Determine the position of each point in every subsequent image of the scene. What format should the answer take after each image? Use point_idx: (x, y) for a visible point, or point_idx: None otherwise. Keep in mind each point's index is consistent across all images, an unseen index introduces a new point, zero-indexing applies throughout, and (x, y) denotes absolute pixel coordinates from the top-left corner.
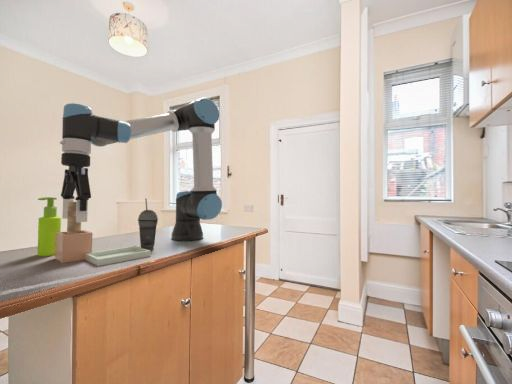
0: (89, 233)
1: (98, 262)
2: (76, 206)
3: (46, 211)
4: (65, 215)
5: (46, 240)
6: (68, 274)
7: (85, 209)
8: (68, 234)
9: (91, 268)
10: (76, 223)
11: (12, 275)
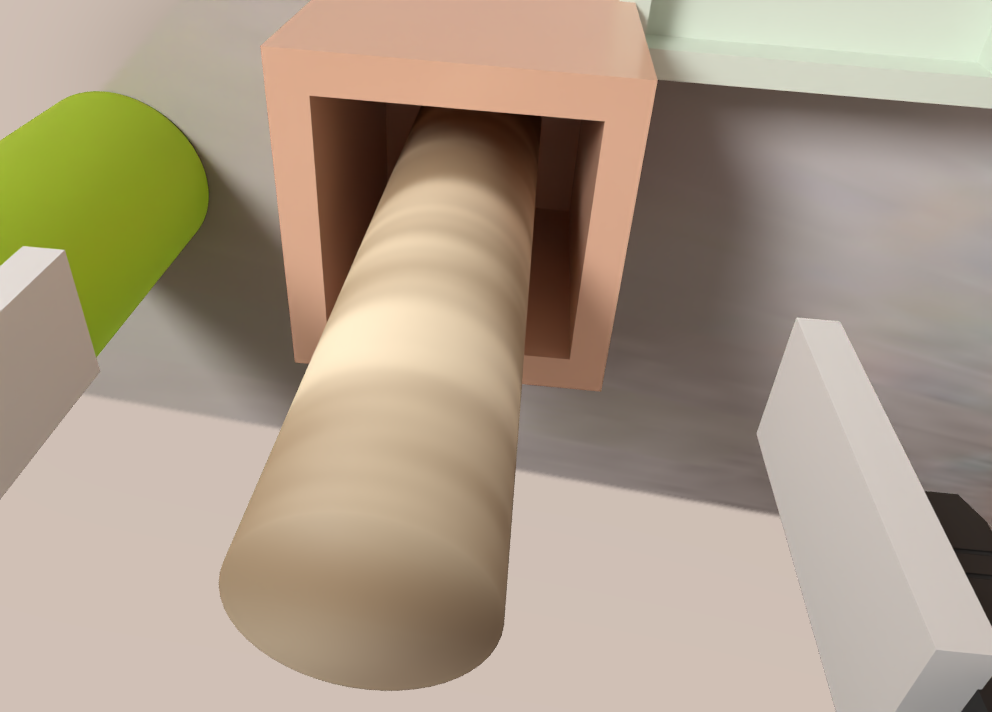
0: (647, 118)
1: None
2: (828, 648)
3: None
4: (64, 379)
5: (134, 307)
6: (893, 282)
7: (978, 532)
8: (577, 336)
9: (910, 111)
10: (525, 320)
11: (589, 457)
